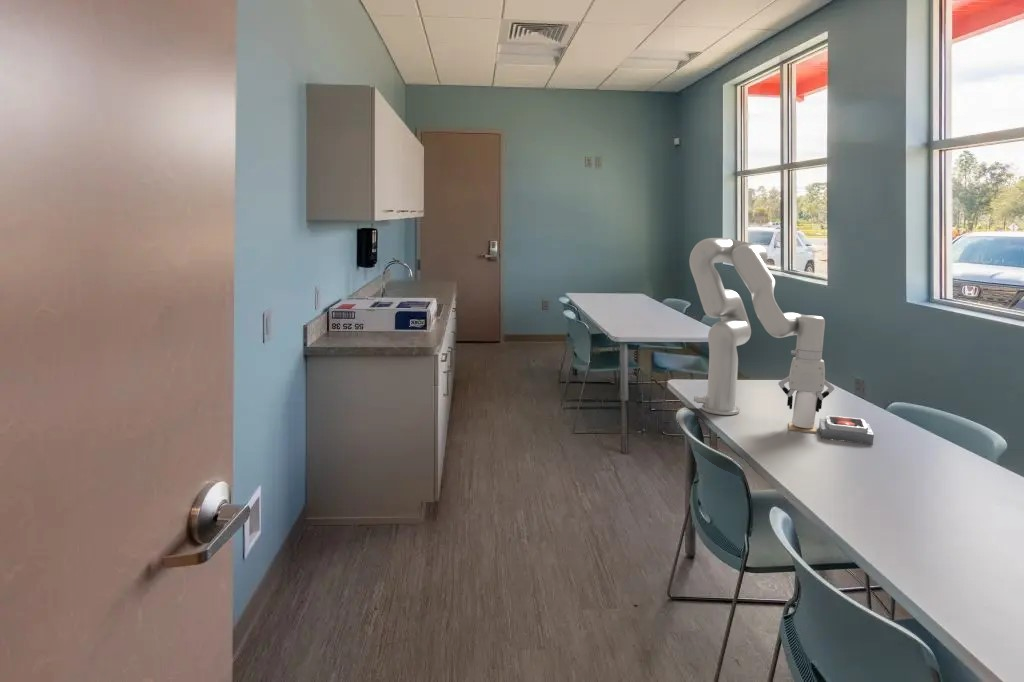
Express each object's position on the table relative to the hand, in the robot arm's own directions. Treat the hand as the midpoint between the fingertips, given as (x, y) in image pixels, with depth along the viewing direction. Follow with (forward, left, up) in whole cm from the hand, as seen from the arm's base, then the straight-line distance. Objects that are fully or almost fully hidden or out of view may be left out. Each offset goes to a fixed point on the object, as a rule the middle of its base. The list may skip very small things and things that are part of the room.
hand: (803, 409), depth 211 cm
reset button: (+12, -3, -5) cm, 14 cm away
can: (0, 0, -6) cm, 6 cm away
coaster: (0, 0, -6) cm, 6 cm away
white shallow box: (+12, -3, -6) cm, 14 cm away
